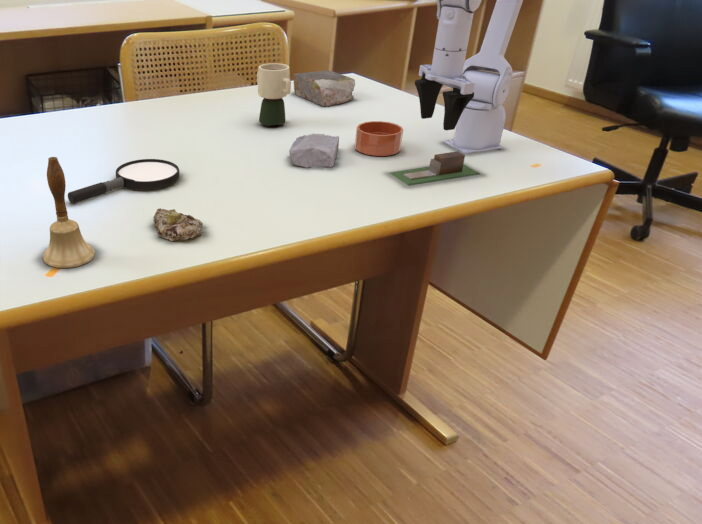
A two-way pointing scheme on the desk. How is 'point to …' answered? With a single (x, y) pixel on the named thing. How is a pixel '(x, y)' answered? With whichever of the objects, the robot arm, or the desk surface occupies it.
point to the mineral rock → (176, 225)
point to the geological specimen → (324, 87)
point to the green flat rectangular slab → (400, 175)
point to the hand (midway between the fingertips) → (437, 123)
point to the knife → (441, 165)
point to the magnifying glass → (132, 178)
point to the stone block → (314, 150)
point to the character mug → (273, 92)
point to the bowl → (378, 138)
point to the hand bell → (64, 227)
